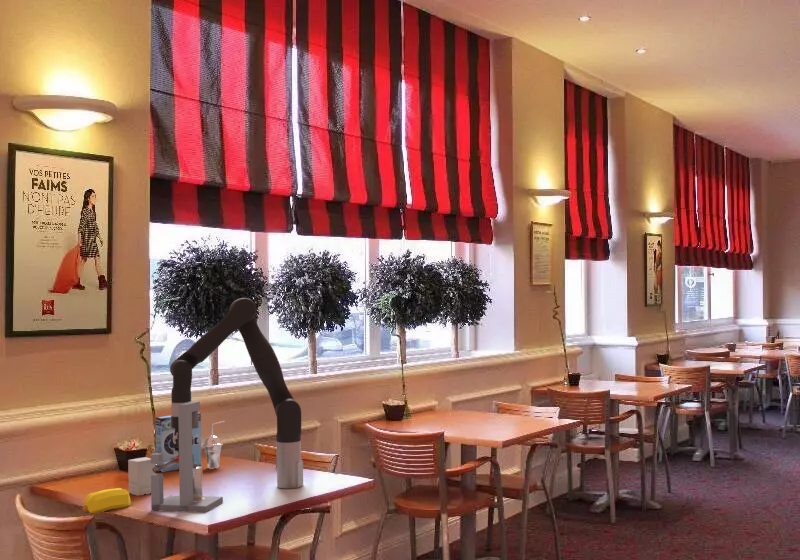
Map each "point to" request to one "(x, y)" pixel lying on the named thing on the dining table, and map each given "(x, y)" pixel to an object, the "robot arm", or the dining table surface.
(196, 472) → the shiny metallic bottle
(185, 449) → the press
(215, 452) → the cup with straw
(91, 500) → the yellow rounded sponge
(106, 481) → the dining table surface
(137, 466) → the supplement box
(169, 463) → the lever
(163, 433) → the blue cereal box
